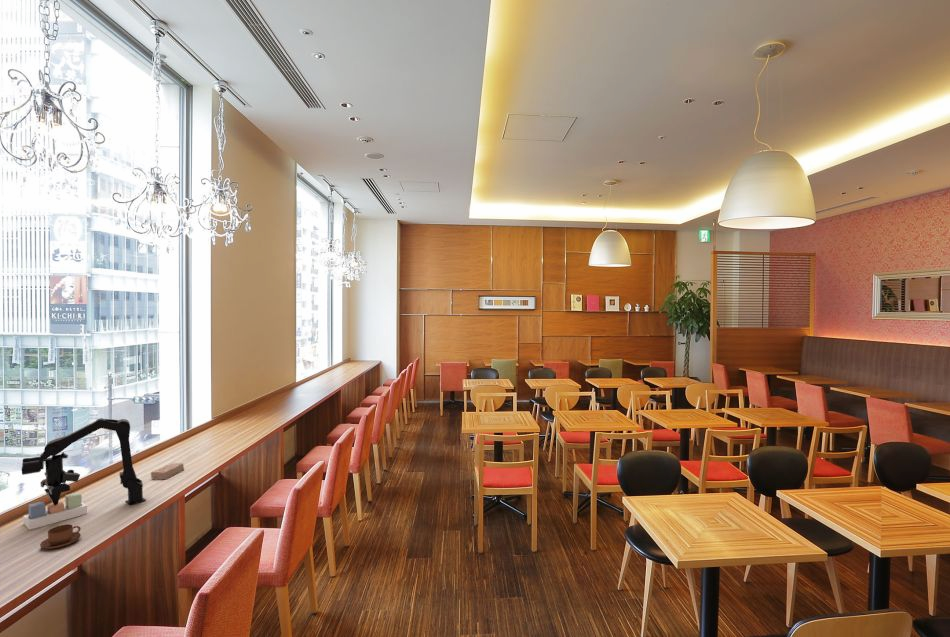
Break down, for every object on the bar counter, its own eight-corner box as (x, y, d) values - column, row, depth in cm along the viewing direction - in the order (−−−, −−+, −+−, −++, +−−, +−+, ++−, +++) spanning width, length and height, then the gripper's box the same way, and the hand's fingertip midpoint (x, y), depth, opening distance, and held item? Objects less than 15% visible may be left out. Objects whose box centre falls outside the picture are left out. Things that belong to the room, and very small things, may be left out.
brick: (170, 470, 275) (170, 462, 274) (184, 469, 274) (184, 461, 274) (150, 480, 258) (150, 472, 258) (165, 480, 258) (165, 471, 258)
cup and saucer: (67, 535, 195) (66, 520, 195) (88, 538, 191) (87, 523, 191) (32, 549, 183) (31, 533, 183) (54, 553, 180) (53, 537, 180)
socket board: (87, 513, 216) (86, 505, 216) (29, 529, 200) (29, 521, 200) (80, 508, 222) (80, 500, 222) (23, 523, 206) (23, 515, 206)
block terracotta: (64, 517, 211) (63, 504, 211) (50, 521, 208) (50, 507, 208) (61, 514, 214) (60, 501, 214) (47, 518, 210) (47, 505, 210)
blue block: (45, 517, 206) (45, 503, 206) (31, 521, 203) (30, 507, 203) (42, 514, 209) (42, 501, 209) (28, 518, 205) (28, 504, 205)
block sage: (81, 507, 216) (81, 494, 216) (68, 511, 213) (68, 497, 212) (78, 505, 219) (78, 492, 219) (65, 508, 215) (65, 495, 215)
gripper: (84, 468, 211) (85, 503, 212) (71, 461, 223) (72, 494, 223) (51, 475, 202) (52, 512, 203) (39, 467, 214) (40, 502, 214)
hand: (55, 504), depth 211 cm, fingers closed, pressing on block terracotta
